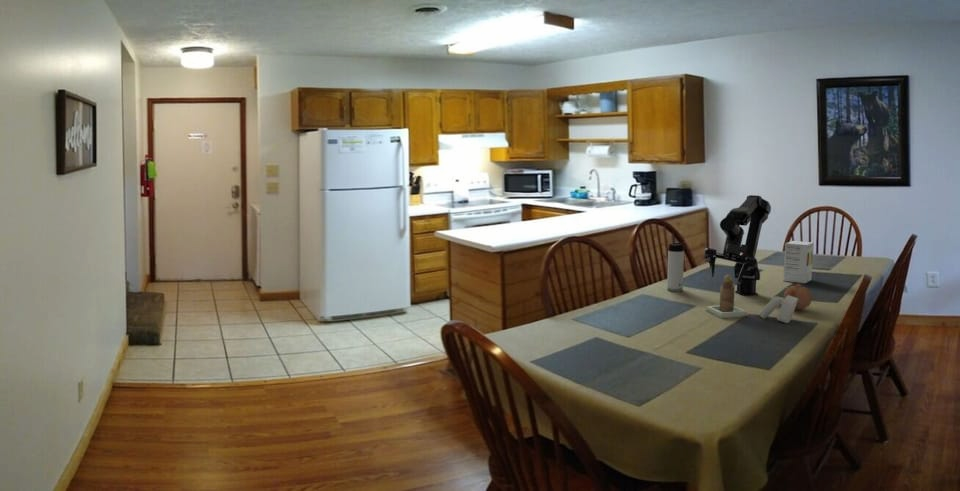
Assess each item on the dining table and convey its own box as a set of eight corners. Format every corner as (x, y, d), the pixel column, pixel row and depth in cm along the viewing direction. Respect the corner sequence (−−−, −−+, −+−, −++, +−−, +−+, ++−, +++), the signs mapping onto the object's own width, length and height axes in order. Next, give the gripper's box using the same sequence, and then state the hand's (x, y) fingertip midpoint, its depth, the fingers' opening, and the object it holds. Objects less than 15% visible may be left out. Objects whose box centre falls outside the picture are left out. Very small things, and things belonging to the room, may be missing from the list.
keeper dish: (730, 309, 255) (730, 304, 254) (746, 316, 245) (746, 311, 245) (706, 311, 252) (706, 306, 252) (721, 318, 243) (721, 313, 242)
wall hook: (760, 313, 246) (768, 287, 243) (789, 323, 241) (798, 297, 238) (754, 318, 240) (763, 292, 237) (785, 329, 235) (794, 302, 232)
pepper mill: (725, 309, 252) (726, 273, 249) (736, 312, 248) (738, 275, 245) (716, 311, 249) (718, 274, 247) (727, 314, 245) (729, 277, 243)
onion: (787, 305, 258) (788, 279, 256) (814, 309, 252) (815, 282, 251) (779, 311, 251) (781, 284, 249) (807, 315, 245) (808, 287, 243)
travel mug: (684, 291, 283) (685, 244, 279) (667, 291, 284) (669, 243, 281) (682, 288, 289) (684, 241, 285) (666, 288, 290) (668, 241, 287)
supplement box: (804, 283, 294) (807, 245, 291) (782, 281, 300) (784, 243, 297) (811, 280, 301) (814, 242, 298) (789, 277, 307) (792, 240, 304)
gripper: (711, 228, 254) (702, 268, 251) (763, 240, 250) (755, 280, 246) (707, 238, 265) (698, 275, 261) (757, 249, 260) (749, 287, 257)
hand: (725, 279), depth 256 cm, fingers open, 9 cm apart
